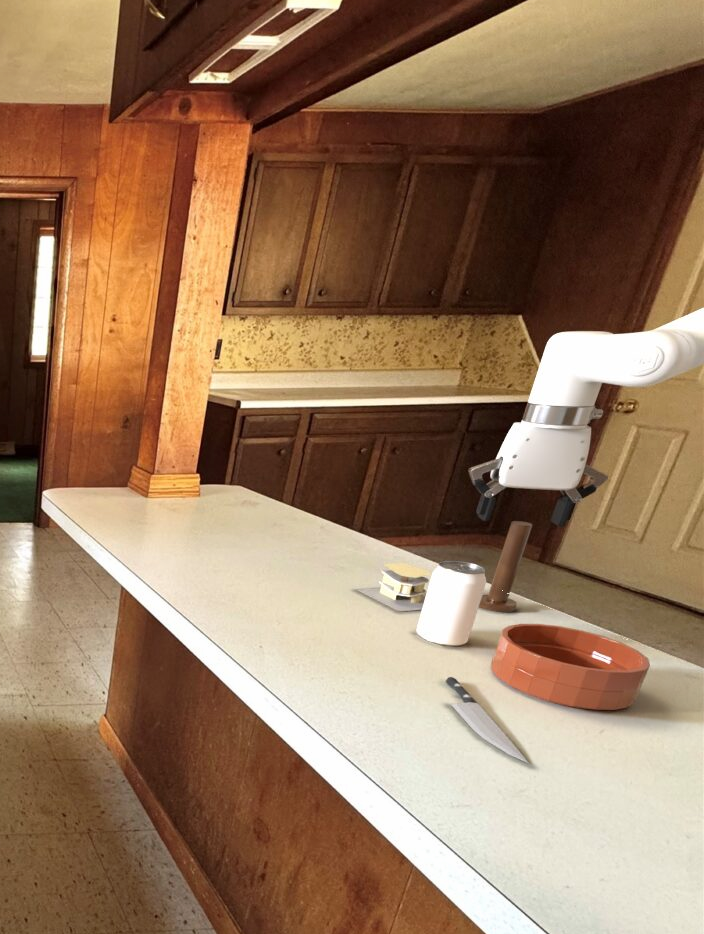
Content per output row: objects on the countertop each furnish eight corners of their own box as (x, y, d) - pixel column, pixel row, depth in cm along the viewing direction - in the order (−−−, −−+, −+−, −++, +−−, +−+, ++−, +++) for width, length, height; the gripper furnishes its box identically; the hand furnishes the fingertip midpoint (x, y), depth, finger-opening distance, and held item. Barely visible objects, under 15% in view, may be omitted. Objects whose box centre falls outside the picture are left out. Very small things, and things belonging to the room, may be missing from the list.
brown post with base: (507, 602, 116) (535, 520, 110) (520, 614, 111) (549, 529, 106) (471, 598, 118) (496, 517, 112) (481, 610, 113) (508, 526, 108)
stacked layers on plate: (355, 590, 123) (362, 562, 121) (400, 586, 124) (407, 559, 122) (398, 611, 114) (406, 582, 112) (446, 607, 114) (455, 578, 112)
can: (422, 643, 103) (443, 571, 98) (410, 626, 108) (429, 557, 104) (473, 649, 100) (497, 576, 96) (458, 632, 106) (480, 561, 101)
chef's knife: (496, 762, 76) (528, 765, 75) (498, 754, 76) (531, 757, 75) (427, 680, 93) (453, 681, 92) (429, 673, 93) (454, 674, 92)
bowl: (598, 669, 94) (613, 631, 92) (657, 722, 82) (676, 680, 79) (474, 654, 99) (486, 618, 97) (512, 702, 87) (527, 661, 85)
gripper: (616, 414, 102) (576, 520, 109) (478, 411, 109) (448, 511, 115) (643, 421, 96) (599, 533, 103) (495, 417, 102) (462, 523, 109)
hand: (519, 521), depth 109 cm, fingers open, 9 cm apart
